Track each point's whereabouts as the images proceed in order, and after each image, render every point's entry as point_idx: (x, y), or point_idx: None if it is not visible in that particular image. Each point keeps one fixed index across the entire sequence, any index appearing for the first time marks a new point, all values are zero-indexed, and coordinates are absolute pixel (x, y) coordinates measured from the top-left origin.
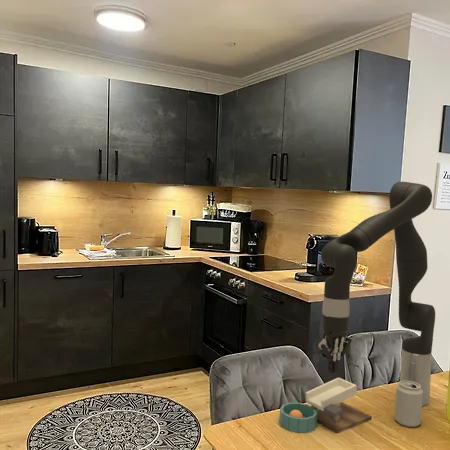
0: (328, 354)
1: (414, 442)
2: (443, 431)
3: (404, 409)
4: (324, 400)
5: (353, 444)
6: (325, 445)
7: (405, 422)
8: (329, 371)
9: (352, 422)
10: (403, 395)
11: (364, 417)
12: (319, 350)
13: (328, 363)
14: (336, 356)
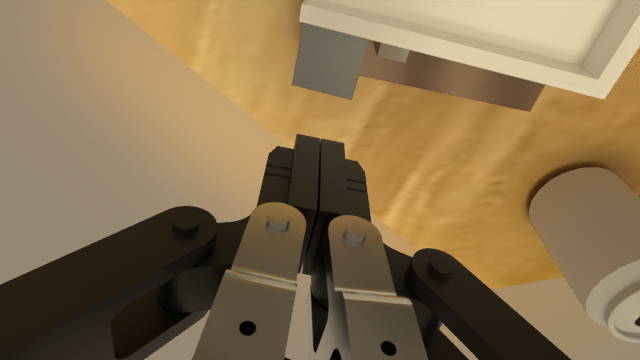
0: (114, 344)
1: (435, 245)
2: (558, 274)
3: (553, 242)
4: (313, 20)
5: (286, 137)
6: (197, 73)
7: (531, 214)
8: (295, 142)
9: (420, 80)
10: (583, 279)
11: (500, 95)
12: (2, 288)
13: (262, 189)
14: (311, 304)
